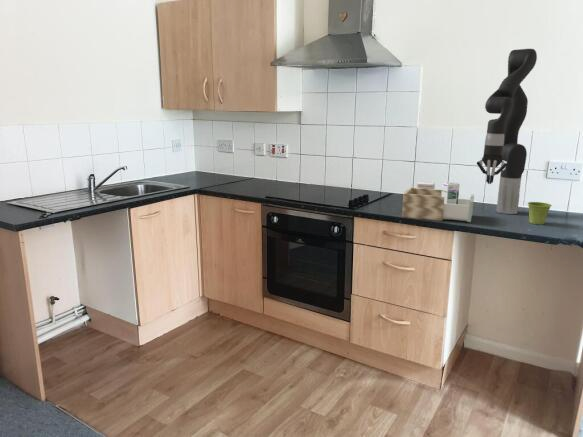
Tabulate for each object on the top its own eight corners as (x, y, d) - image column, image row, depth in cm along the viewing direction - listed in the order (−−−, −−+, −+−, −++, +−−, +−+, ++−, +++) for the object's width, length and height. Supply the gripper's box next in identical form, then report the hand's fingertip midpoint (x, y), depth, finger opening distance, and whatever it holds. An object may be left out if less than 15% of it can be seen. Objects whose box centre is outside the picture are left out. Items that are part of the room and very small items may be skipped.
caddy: (446, 213, 229) (448, 190, 227) (442, 221, 213) (444, 197, 210) (408, 209, 236) (409, 187, 233) (401, 217, 220) (403, 193, 217)
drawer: (472, 213, 225) (474, 194, 222) (470, 222, 208) (472, 201, 206) (432, 210, 231) (434, 191, 229) (427, 218, 215) (429, 198, 213)
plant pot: (553, 224, 210) (556, 205, 208) (540, 226, 205) (543, 207, 203) (533, 219, 217) (536, 201, 215) (520, 222, 213) (523, 203, 211)
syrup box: (445, 215, 217) (448, 184, 213) (439, 212, 223) (442, 181, 219) (457, 215, 218) (460, 183, 214) (451, 212, 223) (453, 181, 220)
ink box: (415, 205, 245) (416, 182, 243) (416, 203, 250) (418, 181, 247) (432, 206, 243) (434, 184, 240) (433, 205, 247) (435, 182, 244)
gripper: (510, 144, 207) (505, 183, 211) (478, 142, 212) (473, 181, 216) (511, 145, 201) (505, 186, 205) (477, 143, 206) (473, 183, 210)
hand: (489, 183), depth 211 cm, fingers closed
